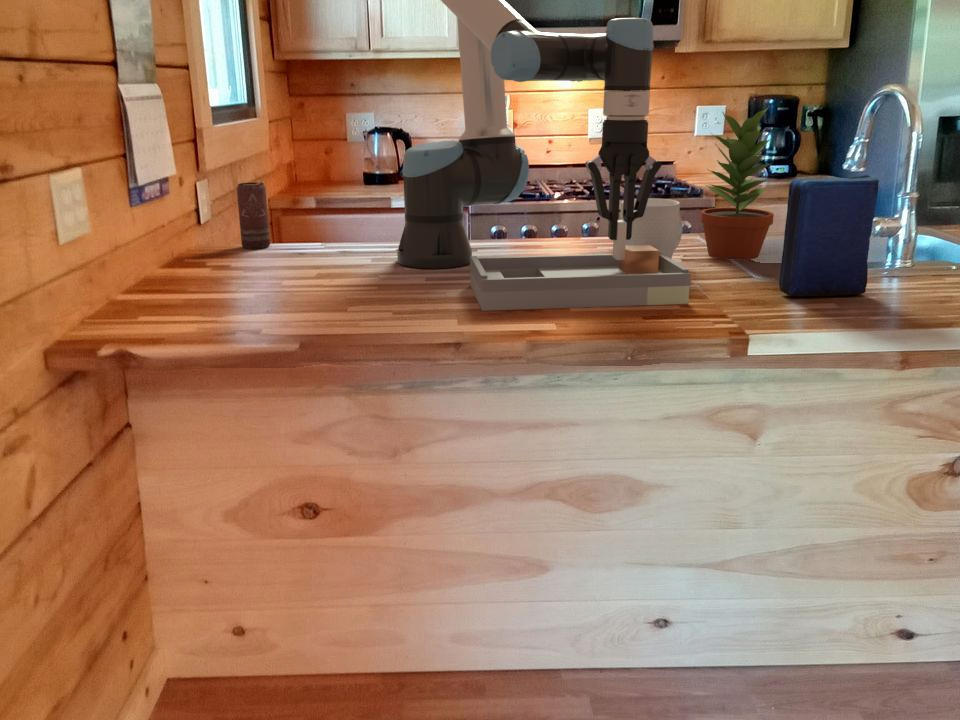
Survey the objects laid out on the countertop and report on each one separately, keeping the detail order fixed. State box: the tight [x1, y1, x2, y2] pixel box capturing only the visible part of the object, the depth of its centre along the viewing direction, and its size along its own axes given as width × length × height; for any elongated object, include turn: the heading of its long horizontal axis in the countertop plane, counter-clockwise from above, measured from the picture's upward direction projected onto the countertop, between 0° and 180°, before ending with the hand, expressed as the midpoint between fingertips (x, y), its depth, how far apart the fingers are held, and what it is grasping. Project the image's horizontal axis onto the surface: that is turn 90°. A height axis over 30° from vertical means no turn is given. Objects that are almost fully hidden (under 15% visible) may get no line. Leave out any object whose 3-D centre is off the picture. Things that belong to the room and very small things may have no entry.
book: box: [778, 174, 880, 297], centre depth 141 cm, size 14×5×20 cm, turn 97°
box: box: [469, 252, 692, 312], centre depth 145 cm, size 34×18×6 cm, turn 97°
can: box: [236, 181, 271, 250], centre depth 187 cm, size 6×6×14 cm
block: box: [618, 245, 659, 274], centre depth 149 cm, size 6×6×4 cm
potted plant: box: [699, 105, 775, 261], centre depth 173 cm, size 15×15×30 cm
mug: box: [619, 197, 683, 259], centre depth 163 cm, size 15×11×13 cm
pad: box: [646, 269, 691, 306], centre depth 147 cm, size 7×18×3 cm, turn 7°
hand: (618, 258), depth 149 cm, fingers closed
